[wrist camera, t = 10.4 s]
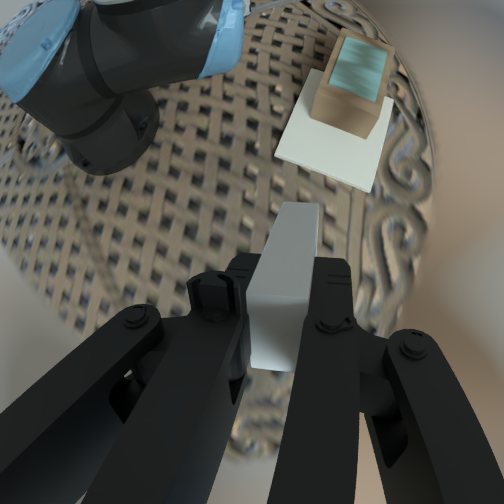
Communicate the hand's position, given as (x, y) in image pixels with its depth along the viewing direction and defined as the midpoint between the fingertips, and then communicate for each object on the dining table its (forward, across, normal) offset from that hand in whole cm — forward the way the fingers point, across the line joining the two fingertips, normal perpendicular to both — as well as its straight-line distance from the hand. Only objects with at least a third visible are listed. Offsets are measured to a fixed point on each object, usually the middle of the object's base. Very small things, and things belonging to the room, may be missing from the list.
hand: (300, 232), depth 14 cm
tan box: (+29, +3, +3) cm, 29 cm away
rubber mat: (+32, +3, +2) cm, 32 cm away
